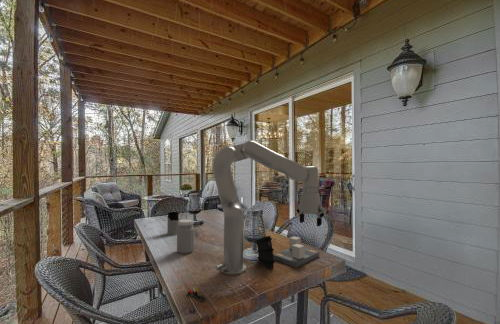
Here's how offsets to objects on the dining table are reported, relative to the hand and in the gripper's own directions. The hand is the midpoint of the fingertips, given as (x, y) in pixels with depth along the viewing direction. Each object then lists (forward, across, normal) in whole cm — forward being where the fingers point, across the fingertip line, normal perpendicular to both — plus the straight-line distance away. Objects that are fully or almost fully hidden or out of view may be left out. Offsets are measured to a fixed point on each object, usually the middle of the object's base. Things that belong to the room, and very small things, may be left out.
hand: (310, 223), depth 127 cm
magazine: (+21, -18, -15) cm, 31 cm away
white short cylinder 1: (+18, -6, -1) cm, 19 cm away
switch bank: (+21, -11, +4) cm, 24 cm away
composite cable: (+21, -16, -58) cm, 64 cm away
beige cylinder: (+18, -15, +9) cm, 25 cm away
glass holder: (+21, -100, -18) cm, 104 cm away
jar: (+21, -62, -34) cm, 74 cm away
